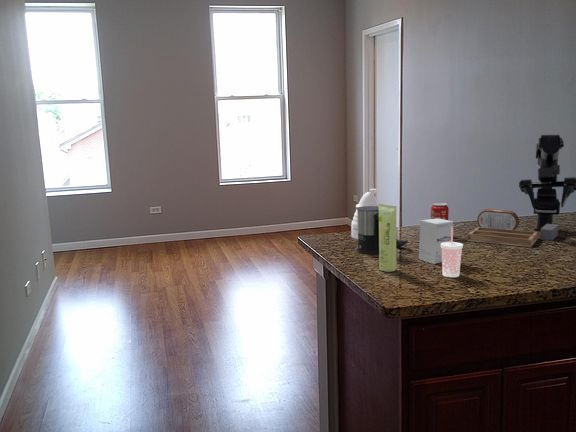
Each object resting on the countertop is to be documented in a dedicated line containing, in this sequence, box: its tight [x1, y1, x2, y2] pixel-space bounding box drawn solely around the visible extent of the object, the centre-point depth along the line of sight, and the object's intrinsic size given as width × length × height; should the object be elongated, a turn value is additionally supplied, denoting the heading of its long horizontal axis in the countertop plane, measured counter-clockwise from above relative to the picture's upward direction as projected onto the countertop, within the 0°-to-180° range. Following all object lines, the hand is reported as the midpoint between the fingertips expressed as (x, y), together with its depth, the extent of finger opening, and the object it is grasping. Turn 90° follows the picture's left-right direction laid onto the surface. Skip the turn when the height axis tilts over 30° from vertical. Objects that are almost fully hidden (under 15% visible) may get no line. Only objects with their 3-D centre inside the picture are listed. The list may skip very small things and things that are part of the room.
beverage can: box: [430, 202, 450, 220], centre depth 216 cm, size 6×6×12 cm
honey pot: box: [350, 188, 380, 240], centre depth 217 cm, size 13×13×18 cm
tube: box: [378, 203, 397, 273], centre depth 171 cm, size 6×5×20 cm
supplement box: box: [418, 218, 454, 265], centre depth 181 cm, size 7×7×13 cm
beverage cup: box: [441, 226, 464, 278], centre depth 165 cm, size 6×6×14 cm
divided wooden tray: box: [467, 226, 539, 248], centre depth 207 cm, size 14×21×2 cm
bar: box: [539, 223, 560, 241], centre depth 210 cm, size 11×4×4 cm, turn 146°
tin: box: [476, 208, 520, 230], centre depth 221 cm, size 15×3×8 cm, turn 58°
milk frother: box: [356, 206, 409, 255], centre depth 196 cm, size 14×16×15 cm
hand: (547, 207), depth 204 cm, fingers open, 9 cm apart
